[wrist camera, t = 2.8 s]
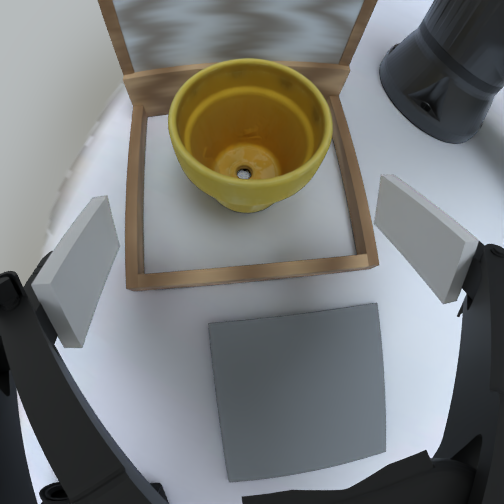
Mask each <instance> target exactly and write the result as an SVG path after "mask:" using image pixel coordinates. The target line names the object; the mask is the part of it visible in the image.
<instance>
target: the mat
mask: <svg viewBox="0 0 504 504" xmlns="http://www.w3.org/2000/svg"><path fill="white" fill-rule="evenodd" d="M208 325H209V335H210V345H211V354H212V363H213V372H214V381H215V389H216V397H217V405H218V413H219V420H220V427H221V434H222V441H223V448H224V455H225V461H226V468H227V474H228V480H229V482H240V481H250V480H259V479H267V478H275V477H281V476H288V475H294V474H299V473H305V472H310V471H315V470H320V469H324V468H329V467H333V466H337V465H341V464H345V463H349V462H353V461H356V460H360V459H364V458H367V457H370V456H374V455H377V454H380V453H383V452H386V408H385V383H384V366H383V353H382V341H381V331H380V321H379V313H378V304H377V303H372V304H366V305H360V306H353V307H347V308H340V309H333V310H326V311H319V312H311V313H303V314H295V315H287V316H279V317H270V318H260V319H251V320H240V321H230V322H218V323H208Z"/></svg>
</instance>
